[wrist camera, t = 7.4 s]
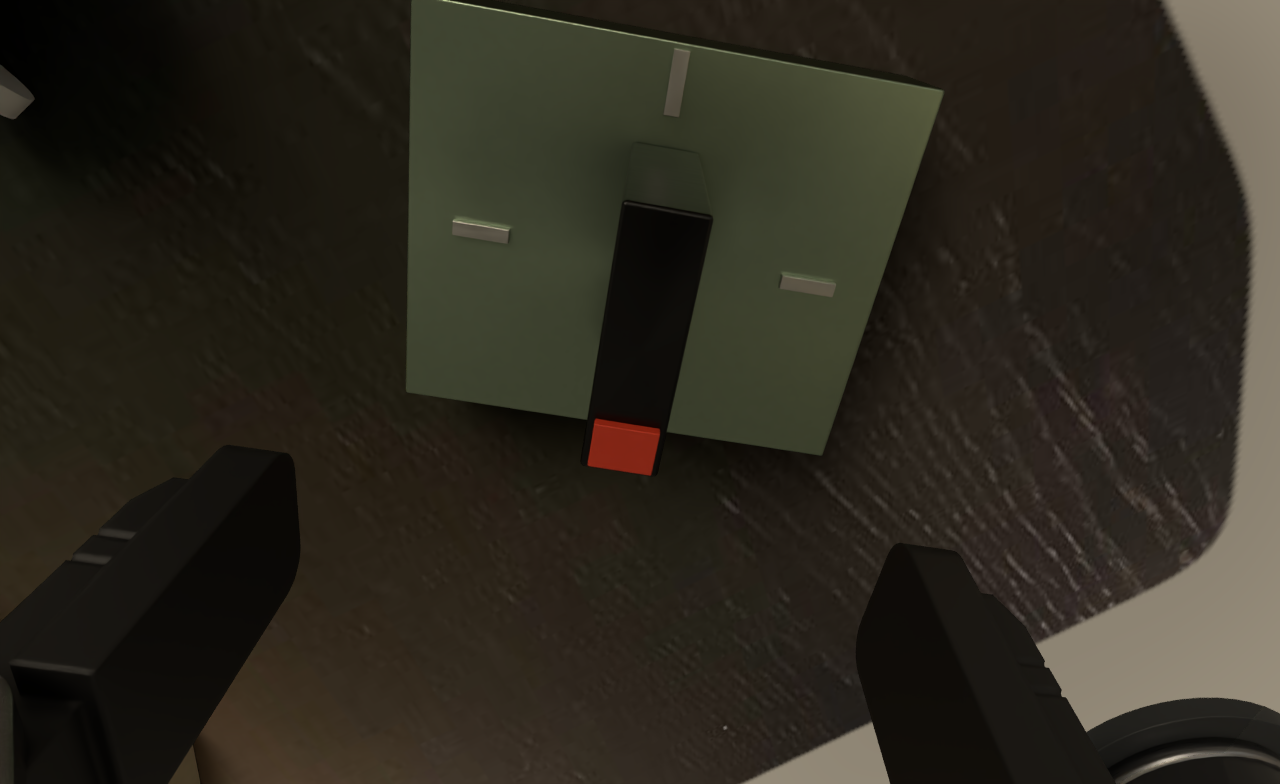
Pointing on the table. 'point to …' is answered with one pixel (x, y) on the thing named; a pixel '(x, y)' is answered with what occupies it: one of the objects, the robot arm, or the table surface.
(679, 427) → the lever switch base
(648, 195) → the red-tipped upright plate
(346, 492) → the table surface
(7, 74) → the mounting bracket
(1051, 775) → the robot arm
